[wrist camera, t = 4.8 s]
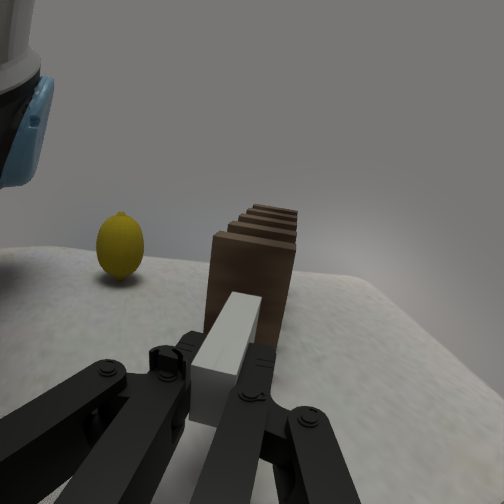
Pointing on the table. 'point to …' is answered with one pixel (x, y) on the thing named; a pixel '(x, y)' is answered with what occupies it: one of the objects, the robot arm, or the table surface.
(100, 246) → the lemon
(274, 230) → the domino
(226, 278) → the domino
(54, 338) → the table surface
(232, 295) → the robot arm
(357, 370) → the table surface
